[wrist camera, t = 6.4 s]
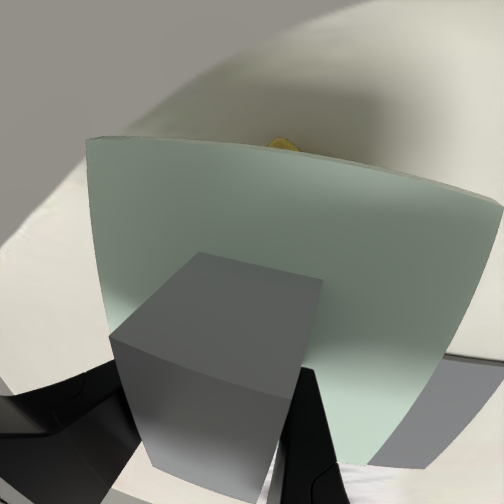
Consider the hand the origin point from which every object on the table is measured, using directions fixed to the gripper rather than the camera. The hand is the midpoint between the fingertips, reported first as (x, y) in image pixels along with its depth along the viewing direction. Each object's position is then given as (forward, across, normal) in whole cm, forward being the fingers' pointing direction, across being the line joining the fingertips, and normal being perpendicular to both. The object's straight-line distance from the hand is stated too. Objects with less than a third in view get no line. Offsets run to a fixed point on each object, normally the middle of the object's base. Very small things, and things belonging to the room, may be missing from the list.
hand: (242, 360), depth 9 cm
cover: (+2, 0, 0) cm, 2 cm away
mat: (+9, -10, +13) cm, 19 cm away
